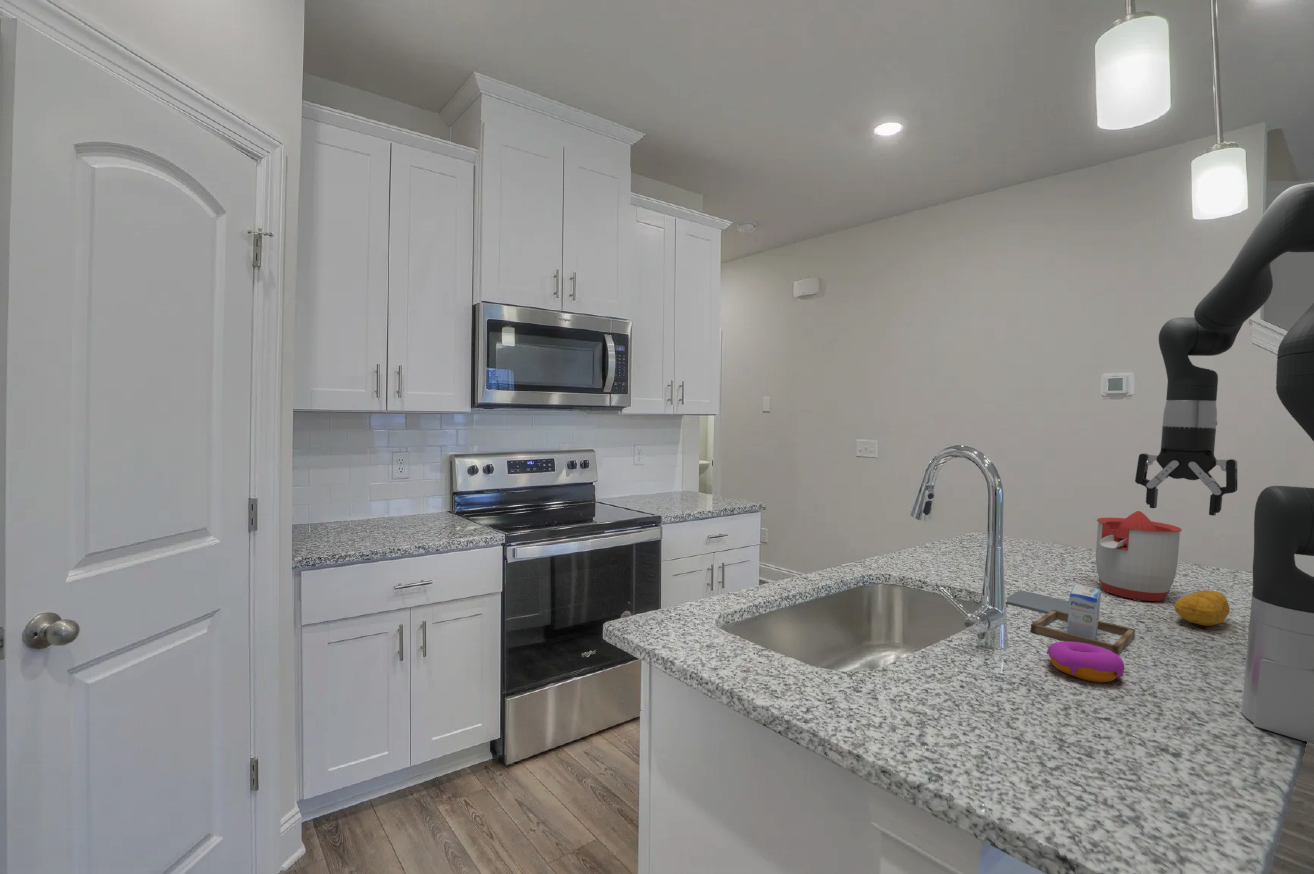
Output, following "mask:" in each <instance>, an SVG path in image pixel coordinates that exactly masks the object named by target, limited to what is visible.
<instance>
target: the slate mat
mask: <svg viewBox="0 0 1314 874" xmlns="http://www.w3.org/2000/svg"><path fill="white" fill-rule="evenodd" d="M1006 598H1007V605H1010V606H1013V607H1018V608H1019V607H1020V608H1023V609H1026V610H1030V611H1035V612H1039V613H1043V614H1045V615H1046V614H1047V613H1049V612H1050V611H1052V610H1057V611H1061V612H1065V613H1068V611H1069V600H1065V599H1061V598H1056V597H1052V596H1048V595H1043V594H1041V593H1040V594H1038V593H1035V592H1031V591H1026V590H1022V589H1020V590H1018V591H1016V592H1014V593H1012V594H1010V595H1009V596H1007V597H1006Z"/></svg>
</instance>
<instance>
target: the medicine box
mask: <svg viewBox="0 0 1314 874" xmlns="http://www.w3.org/2000/svg"><path fill="white" fill-rule="evenodd" d="M1101 595H1102V590H1101V589H1099V588H1095V587H1093V586H1092V587H1091V586H1086V585H1081V584H1074V585H1073V587H1072V588H1071V592H1070V593H1069V600H1068V601H1069V611H1068V622H1067V627H1066V632H1067V633H1071V634H1075V635H1079V636H1083V637H1086V638H1090V639H1094V640H1096V636H1097V631H1098V630H1099V629H1098V621H1100V620H1099V619H1100V618H1099V615H1100V607H1101V606H1100V605H1101Z"/></svg>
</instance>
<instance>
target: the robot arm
mask: <svg viewBox="0 0 1314 874" xmlns="http://www.w3.org/2000/svg"><path fill="white" fill-rule="evenodd" d="M1285 253H1314V182H1307V183H1306V182H1305V183H1299V184H1295V185H1292V186H1290V187H1288V188H1286V189H1285V190H1284V191H1282V192H1281V193H1280V194H1279V195H1277V197H1276V198H1275V199H1274V200H1273V201H1272V202H1271V203H1270V204H1269V206H1268V208H1267V209H1266V210H1265V212H1264V213H1263V214H1262V216H1261V218H1260V219H1259V221H1258V222H1257V223H1256V225H1255V227H1254V229H1253V230H1252V232H1251V233H1250V234H1249V236H1248V238H1247V240H1246V241H1245V242H1244V244H1243V246H1242V247H1241V249H1240V251H1239V253H1238V254H1237V256H1236V257H1235V259H1234V261H1233V262H1232V264H1231V266H1230V267H1229V269H1228V270H1227V271H1226V273H1225V274H1224V275H1223V276H1222V278H1221V279H1220V280H1219V281H1218V282H1217V283H1216V285H1214V286H1213V288H1212V289H1210V290H1209V292H1208V293H1207V294H1206V295H1205V296H1203V298H1202V299H1201V300H1200V301H1199V303H1198V304H1197V305H1196V307H1195V309H1194V313H1193V315H1194V316H1192V317H1189V316H1188V317H1185V316H1184V317H1173V318H1171V319H1169V320H1167V321H1166V322H1165V323H1164V324H1163V325H1162V327H1161V328H1160V331H1159V334H1158V347H1159V349H1160V353H1161V355H1162V360H1163V363H1164V369H1165V373H1166V376H1167V377H1166V378H1167V385H1166V399H1165V400H1166V401H1165V406H1164V408H1163V416H1162V426H1161V427H1162V430H1161V443H1160V450H1159V451H1160V452H1159V454H1158V455H1153V454H1149V453H1145V452H1144V453H1140V454H1139V455H1138V460H1137V466H1136V474H1135V478H1134V479H1135V480H1134V481H1135V483H1136V484H1137V485H1141V486H1143V487H1144V488H1146V493H1145V494H1146V495H1145V503H1146V505H1147V506H1148V505H1149V508H1150V509H1156V508H1157V506H1158V496H1159V495H1158V494H1159V488H1157V487H1158V486H1159V485H1160V484H1161V483H1162V482H1164V481H1166V480H1167V479H1168V478H1169V477H1170V478H1172V479H1176V480H1180V479H1184V480H1188V481H1197V480H1200V481H1201V482H1202V483H1203V484H1204V485H1205V486H1206V487H1207V488H1208V489H1209V490H1210V492H1211V493H1212V494H1210V496H1209V508H1208V509H1209V510H1208V516H1212V517H1213V516H1216V515H1217V514H1218V513H1220V512H1221V511H1222V505H1223V496H1224V495H1226V494H1232V493H1233V494H1234V493H1236V492H1237V491H1238V460H1237V459H1235V458H1231V459H1217V458H1216V457H1215V446H1216V433H1217V425H1218V410H1217V398H1218V397H1217V396H1218V385H1219V374H1218V373H1217V371H1215V370H1213V369H1209V368H1205V367H1199V366H1196V365H1194V364H1193V363H1192V361H1191V359H1190V358H1189V357H1190V356H1193V357H1195V356H1196V357H1197V356H1202V357H1203V356H1204V357H1209V356H1217V355H1221V354H1224V353H1225V352H1227V351H1229V350H1230V349H1231V348H1232V347H1233V345H1234V344H1235V341H1236V338H1237V336H1238V333H1239V332H1240V331H1241V328H1242V327H1243V324H1244V323H1245V322H1246V321H1247V320H1248V319H1249V318H1251V317H1252V316H1253V315H1254V314H1255V313H1256V312H1257V311H1258V310H1260V309H1261V307H1263V306H1264V304H1266V303H1267V301H1268V299H1269V297H1270V296H1271V294H1272V291H1273V286H1274V285H1273V284H1274V283H1273V282H1274V281H1273V275H1272V271H1271V263H1272V262H1274V261H1275V260H1277V258H1279V257H1281V255H1283V254H1285ZM1276 359H1277V360H1276V379H1275V385H1276V386H1275V390H1276V394H1277V396H1278V399H1279V401H1280V402H1281V404H1282V406H1284V408H1285V409H1286V411H1287V412H1288V413H1289V415H1290V416H1291V417H1292V418H1293V419H1294V420H1295V422H1296V423H1297V424H1298V425H1299V426H1300V427H1301V428H1302V429H1303V431H1304V432H1305V433H1306V434H1307V435H1308V437H1309V438H1310V439H1311V440H1312V441H1313V442H1314V302H1313V303H1312V304H1311V305H1310V306H1309V308H1307V310H1306V311H1305V312H1304V313H1303V314H1302V315H1301V316H1300V318H1298V320H1296V321H1295V323H1294V324H1293V325H1292V327H1290V328H1289V330H1287V332H1286V334H1284V336H1283V338H1282V340H1281V342H1280V343H1279V345H1278V350H1277V358H1276ZM1154 462H1157V464H1158V465H1159V466H1160V467H1161V469H1162V470H1160V471H1159V472H1158V473H1157V474H1156V475H1154V477H1153V478H1151V479H1147V478H1148V477H1147V474H1148V470H1149V466H1152V465H1153V463H1154ZM1216 466H1219V467H1220V470H1221V471H1222V472H1225V483H1226V484H1225V486H1221V485H1220V484H1219V483H1218V482H1217V480H1216V479H1215V477H1214V476H1213V475H1211V473H1210V471H1212V470H1213V469H1214V468H1215V467H1216ZM1253 516H1254V519H1253V560H1252V591H1251V595H1252V596H1251V603H1250V615H1249V624H1248V634H1247V635H1248V636H1247V647H1246V656H1245V657H1246V658H1245V667H1244V668H1245V669H1244V678H1243V679H1244V680H1243V690H1242V691H1243V692H1242V703H1241V704H1242V705H1241V713H1242V715H1243V717H1245V718H1246V719H1247V720H1249V721H1250V722H1252V723H1253V726H1254V727H1256V728H1260V729H1263V730H1267V731H1270V732H1273V733H1276V734H1279V735H1283V736H1286V737H1289V738H1293V739H1296V740H1299V741H1303V742H1305V741H1306V743H1308V744H1312V745H1314V576H1312V575H1310V574H1308V573H1306V572H1305V571H1303V570H1301V569H1300V568H1298V566H1297V565H1296V559H1295V555H1300V556H1310V557H1314V487H1304V486H1303V487H1302V486H1290V485H1289V486H1288V485H1270V486H1267V487H1265V488H1264V489H1263V490H1261V492H1260V493H1259V495H1258V497H1257V499H1256V502H1255V507H1254V515H1253Z"/></svg>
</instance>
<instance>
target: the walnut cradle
mask: <svg viewBox="0 0 1314 874" xmlns="http://www.w3.org/2000/svg"><path fill="white" fill-rule="evenodd" d="M1055 620H1060V621H1064V622H1067V623H1068V613H1065V612H1061V611H1057V610H1052V611H1050V612H1049V613H1047V614H1046V613H1045V614H1044V615H1043V616H1041V617H1040V618H1038V619H1037V620H1035V621H1034V622H1032V623H1031V624H1030V633H1032V634H1033V633H1034V634H1036V635H1041V636H1044V637H1047V638H1052V639H1056V640H1059V641H1061V642H1064V641H1070V642H1079V643H1085V644H1090V645H1094V646H1099V647H1102V648H1105V649H1108V650H1110V651H1112V652H1114V653H1115V654H1117V655H1118V656H1119V654H1120V653H1121V652H1122V651H1123V650H1124V649H1125V648H1126V647H1127V646H1128V645H1129V644H1130V642H1131V641H1132V640H1133V639H1134V638H1135V634H1136V629H1135V628H1131V627H1127V626H1122V625H1119V624H1115V623H1109V622H1107V621H1106V622H1105V621H1101V620H1098V629H1097V630H1100V631H1103V632H1108V633H1111V634H1116V635H1119V634H1120V637H1119V638H1118V639H1117V640H1116V641H1115V643H1113V644H1112V643H1108V642H1104V641H1102V640H1097V639H1095V640H1094V639H1090V638H1086V637H1083V636H1079V635H1075V634H1071V633H1067V631H1063V630H1059V629H1056V628H1051V627H1048V625H1049V624H1050V623H1052V622H1054V621H1055ZM1127 644H1128V645H1127Z"/></svg>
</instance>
